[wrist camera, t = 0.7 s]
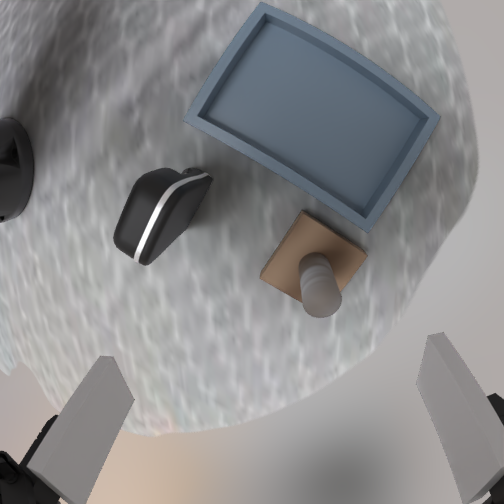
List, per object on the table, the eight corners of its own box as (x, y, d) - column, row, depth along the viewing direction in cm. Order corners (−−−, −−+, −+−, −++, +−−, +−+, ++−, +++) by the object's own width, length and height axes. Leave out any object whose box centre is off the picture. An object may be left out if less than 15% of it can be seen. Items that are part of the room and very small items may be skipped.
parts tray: (191, 122, 28) (182, 120, 25) (262, 13, 23) (260, 1, 21) (360, 225, 30) (367, 233, 27) (427, 118, 25) (440, 116, 22)
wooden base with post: (260, 272, 33) (253, 313, 25) (302, 209, 30) (309, 234, 22) (321, 307, 34) (330, 354, 25) (363, 250, 31) (388, 285, 23)
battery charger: (184, 157, 29) (133, 166, 19) (216, 176, 30) (180, 193, 19) (155, 214, 32) (100, 249, 21) (185, 232, 32) (140, 276, 21)
